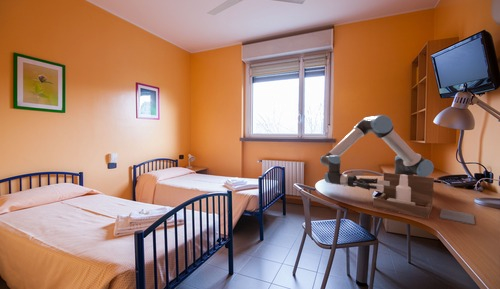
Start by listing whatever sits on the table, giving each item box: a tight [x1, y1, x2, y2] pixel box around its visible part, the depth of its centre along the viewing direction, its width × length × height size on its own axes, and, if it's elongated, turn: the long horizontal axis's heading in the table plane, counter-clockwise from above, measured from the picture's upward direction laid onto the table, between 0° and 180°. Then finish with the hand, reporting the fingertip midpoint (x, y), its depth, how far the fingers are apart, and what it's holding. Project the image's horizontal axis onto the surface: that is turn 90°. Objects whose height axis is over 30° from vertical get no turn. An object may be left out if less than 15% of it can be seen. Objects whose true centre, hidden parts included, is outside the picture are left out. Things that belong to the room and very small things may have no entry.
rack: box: [372, 172, 435, 220], centre depth 122 cm, size 23×24×16 cm
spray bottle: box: [396, 174, 411, 202], centre depth 122 cm, size 7×7×18 cm
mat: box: [439, 208, 476, 226], centre depth 108 cm, size 14×12×1 cm
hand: (386, 186), depth 128 cm, fingers open, 13 cm apart
